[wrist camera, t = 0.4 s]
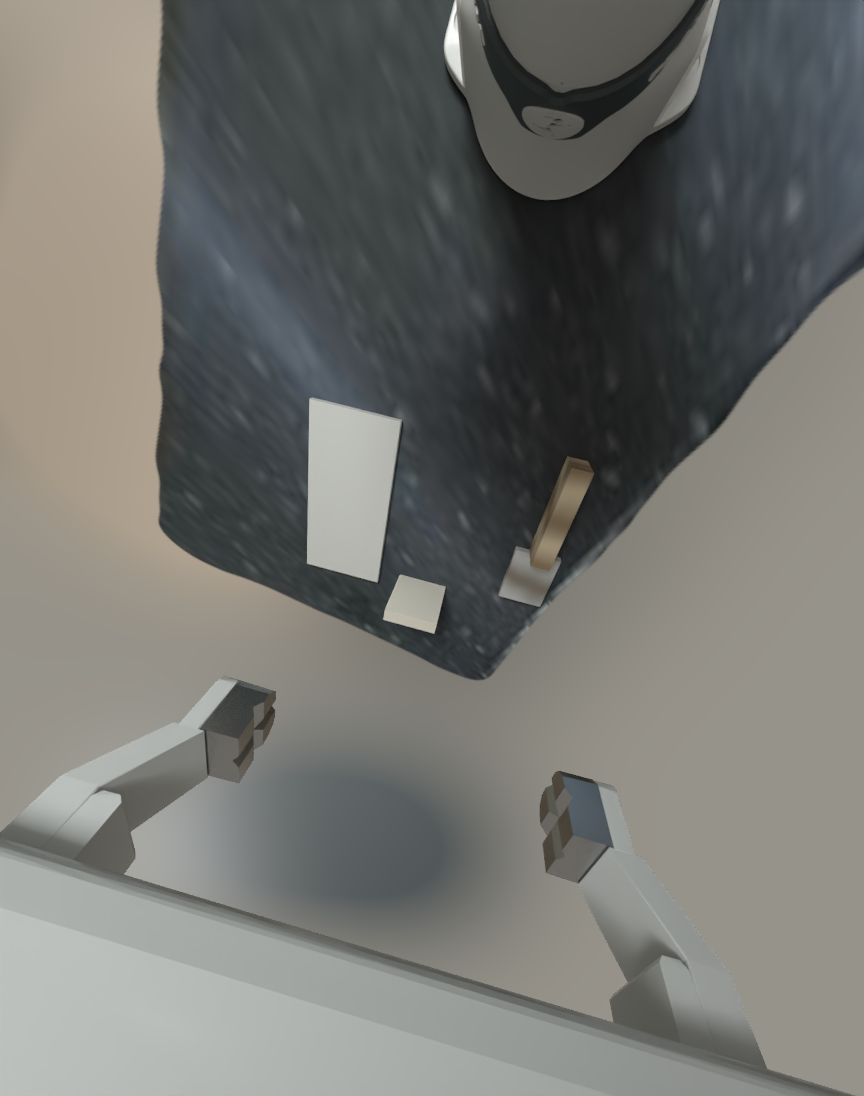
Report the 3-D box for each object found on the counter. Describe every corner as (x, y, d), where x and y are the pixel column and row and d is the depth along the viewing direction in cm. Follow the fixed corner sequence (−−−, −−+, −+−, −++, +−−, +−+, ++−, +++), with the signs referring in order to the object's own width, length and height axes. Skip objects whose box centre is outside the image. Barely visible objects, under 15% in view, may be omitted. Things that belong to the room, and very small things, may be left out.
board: (312, 397, 45) (309, 398, 44) (402, 419, 44) (400, 421, 43) (309, 560, 58) (307, 563, 57) (378, 579, 57) (377, 582, 56)
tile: (400, 574, 56) (384, 609, 49) (445, 586, 56) (436, 623, 49) (398, 584, 57) (383, 620, 50) (443, 596, 57) (434, 634, 50)
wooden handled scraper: (551, 452, 43) (554, 463, 40) (603, 465, 43) (611, 477, 40) (498, 591, 55) (497, 609, 51) (539, 602, 54) (541, 621, 51)
